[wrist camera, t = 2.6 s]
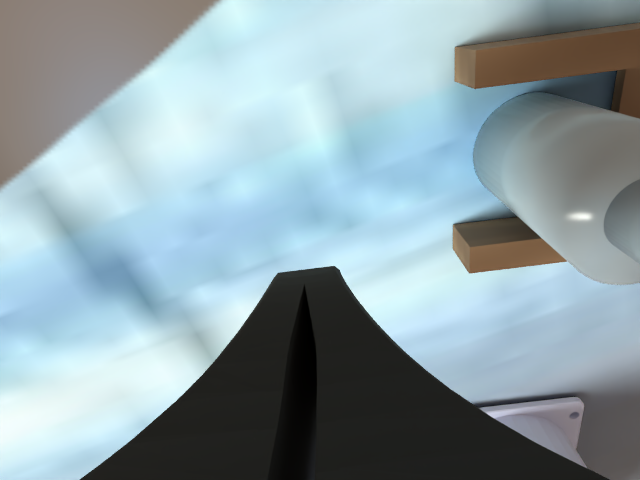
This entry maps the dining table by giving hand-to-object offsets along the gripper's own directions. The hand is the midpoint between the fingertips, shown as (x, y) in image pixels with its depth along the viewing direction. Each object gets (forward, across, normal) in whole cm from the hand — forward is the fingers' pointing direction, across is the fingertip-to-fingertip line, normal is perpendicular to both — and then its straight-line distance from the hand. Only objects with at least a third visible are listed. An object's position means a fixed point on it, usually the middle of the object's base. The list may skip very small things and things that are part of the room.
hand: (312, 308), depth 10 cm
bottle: (+10, -9, 0) cm, 13 cm away
